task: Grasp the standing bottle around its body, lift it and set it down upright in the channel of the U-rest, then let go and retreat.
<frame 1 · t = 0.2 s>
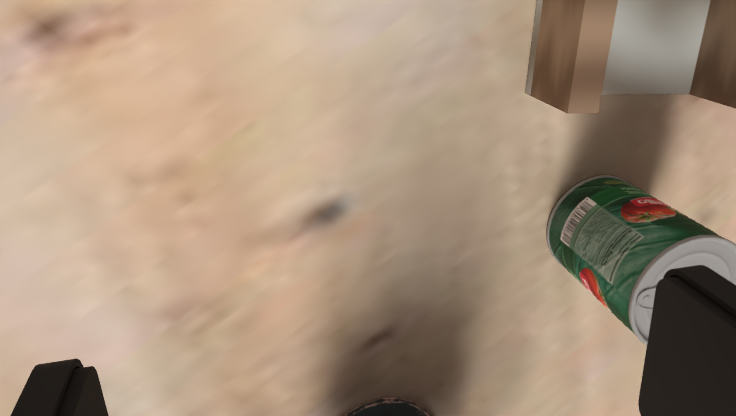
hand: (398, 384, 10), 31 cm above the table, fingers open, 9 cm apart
canned tomato: (592, 222, 47), on the table
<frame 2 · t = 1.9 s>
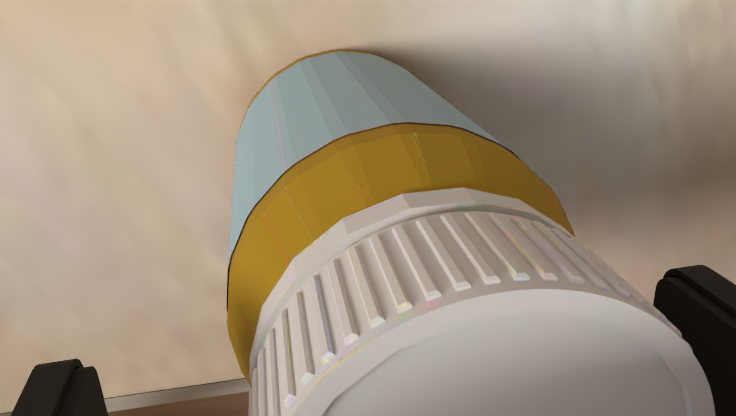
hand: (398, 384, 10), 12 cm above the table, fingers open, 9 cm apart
bottle: (339, 147, 22), on the table
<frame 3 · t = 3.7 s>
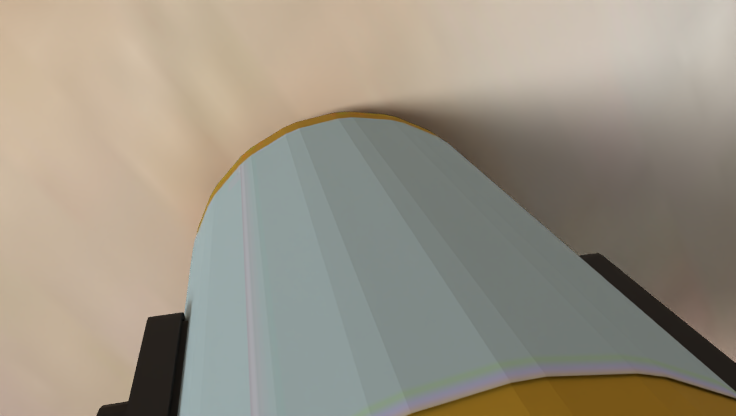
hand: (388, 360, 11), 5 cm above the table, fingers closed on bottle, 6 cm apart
bottle: (343, 243, 15), on the table, touching gripper
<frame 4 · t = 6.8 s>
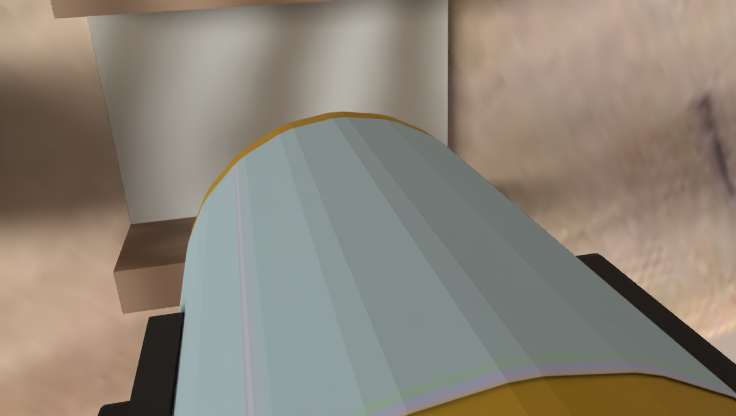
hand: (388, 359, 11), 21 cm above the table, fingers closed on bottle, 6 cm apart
bottle: (338, 244, 15), point 16 cm above the table, touching gripper
u rest: (285, 103, 30), on the table
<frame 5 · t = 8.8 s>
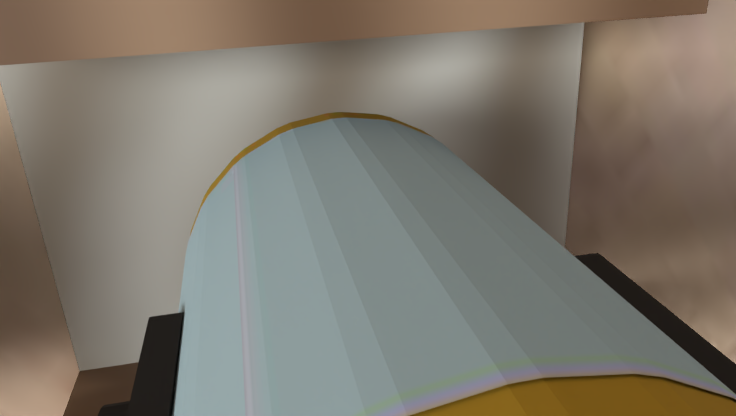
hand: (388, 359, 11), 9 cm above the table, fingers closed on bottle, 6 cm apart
bottle: (337, 244, 15), point 4 cm above the table, touching gripper
u rest: (321, 182, 19), on the table
when the fingers open (7 cm above the table, at t = 10.3 s): bottle drops 1 cm, resting on u rest.
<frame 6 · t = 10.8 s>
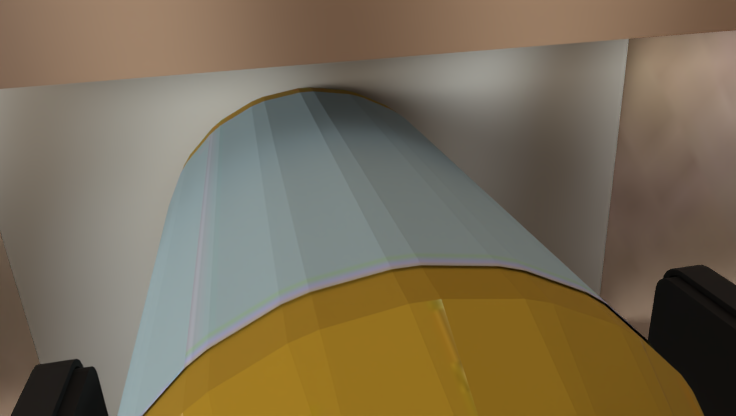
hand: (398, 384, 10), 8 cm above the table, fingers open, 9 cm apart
bottle: (310, 213, 16), point 1 cm above the table, touching u rest
u rest: (331, 211, 17), on the table
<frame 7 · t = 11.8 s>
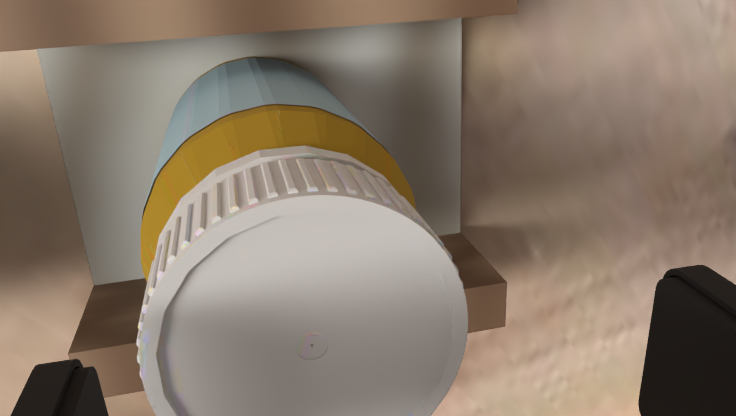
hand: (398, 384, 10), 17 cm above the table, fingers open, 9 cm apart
bottle: (258, 141, 25), point 1 cm above the table, touching u rest
u rest: (273, 142, 26), on the table
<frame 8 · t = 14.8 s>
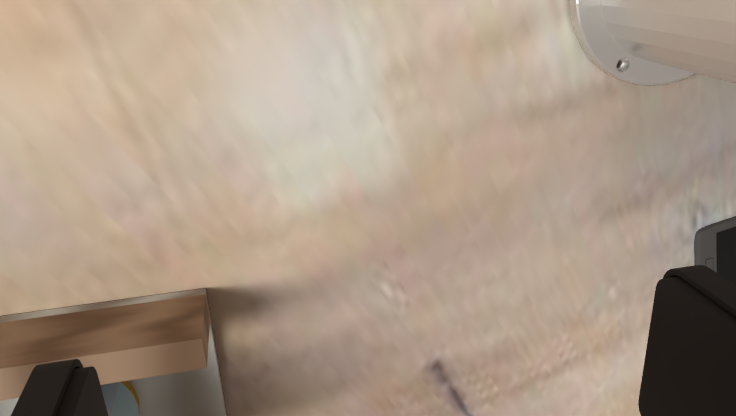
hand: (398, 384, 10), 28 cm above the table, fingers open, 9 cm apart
bottle: (85, 400, 40), point 1 cm above the table, touching u rest
u rest: (98, 396, 41), on the table
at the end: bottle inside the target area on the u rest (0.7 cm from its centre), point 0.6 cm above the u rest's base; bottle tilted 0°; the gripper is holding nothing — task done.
